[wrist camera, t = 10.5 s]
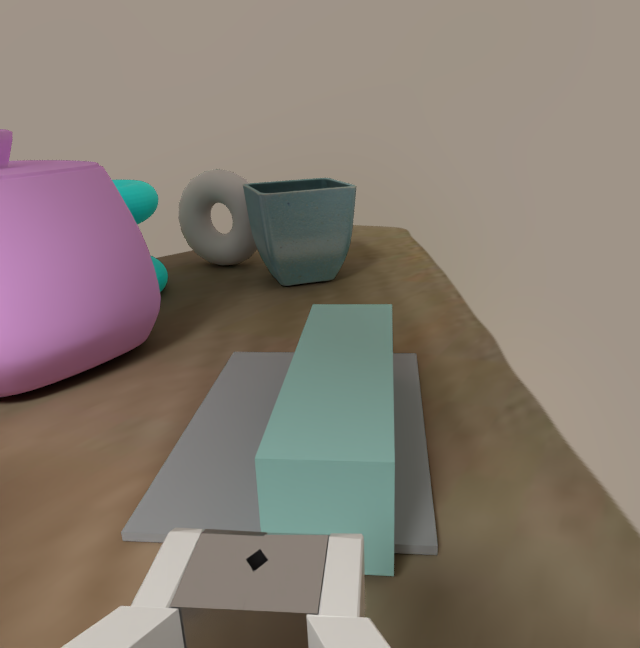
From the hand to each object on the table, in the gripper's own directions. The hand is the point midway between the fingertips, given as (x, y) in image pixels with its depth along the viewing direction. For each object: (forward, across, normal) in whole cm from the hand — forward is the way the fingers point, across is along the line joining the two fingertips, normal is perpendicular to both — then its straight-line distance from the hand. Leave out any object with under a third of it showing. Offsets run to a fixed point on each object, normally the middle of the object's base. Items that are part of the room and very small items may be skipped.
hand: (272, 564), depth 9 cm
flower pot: (+48, +6, +9) cm, 49 cm away
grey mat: (+20, +2, +9) cm, 22 cm away
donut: (+54, +15, +9) cm, 57 cm away
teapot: (+28, +23, +9) cm, 37 cm away
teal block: (+9, 0, +6) cm, 11 cm away
